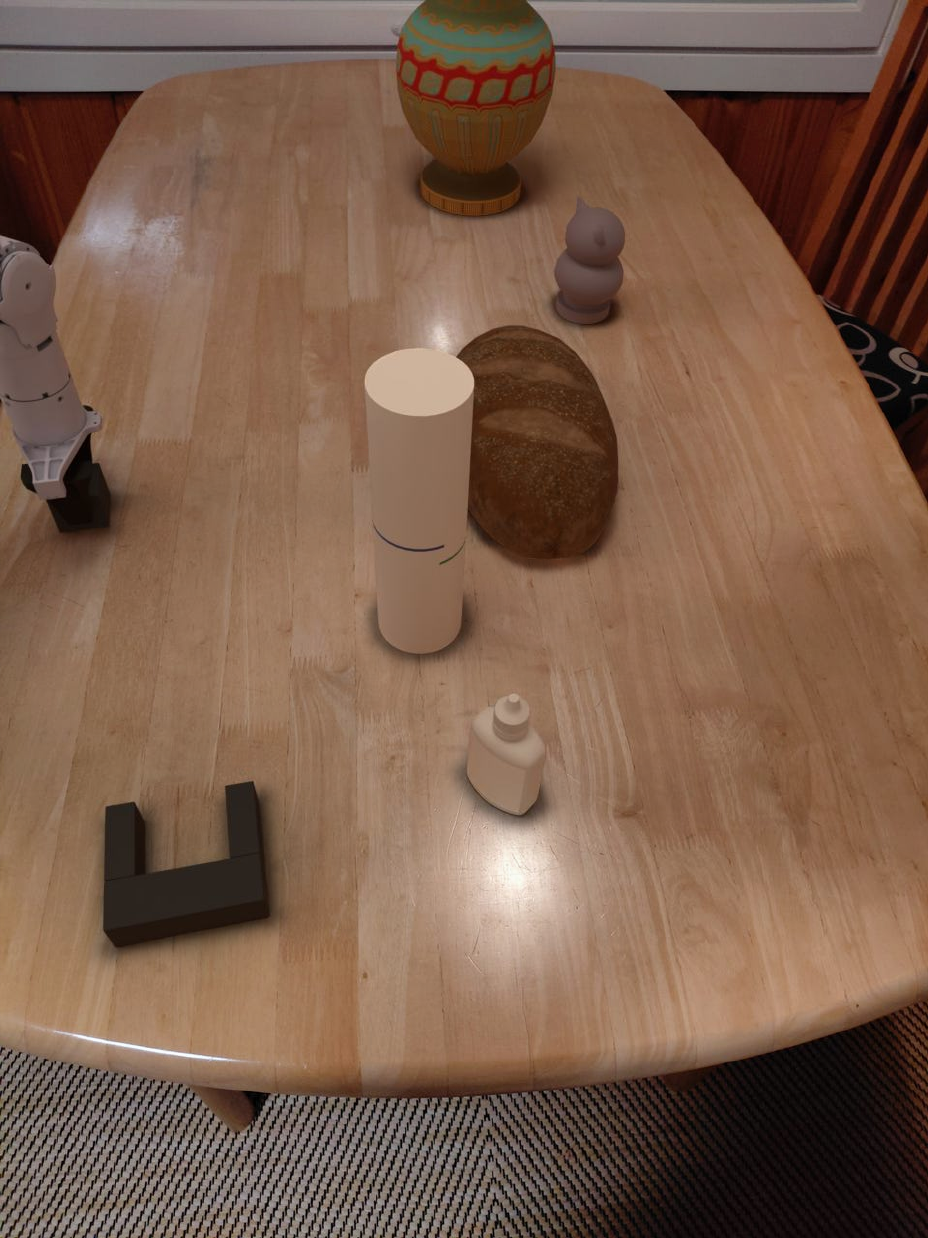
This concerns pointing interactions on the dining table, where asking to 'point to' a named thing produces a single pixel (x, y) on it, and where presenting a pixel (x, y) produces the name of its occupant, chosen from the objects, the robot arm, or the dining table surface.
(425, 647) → the cylindrical container
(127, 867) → the black u-shaped block
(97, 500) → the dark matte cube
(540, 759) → the eye dropper bottle
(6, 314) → the robot arm
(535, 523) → the bread
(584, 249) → the grey rounded figurine
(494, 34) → the vase
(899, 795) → the dining table surface
